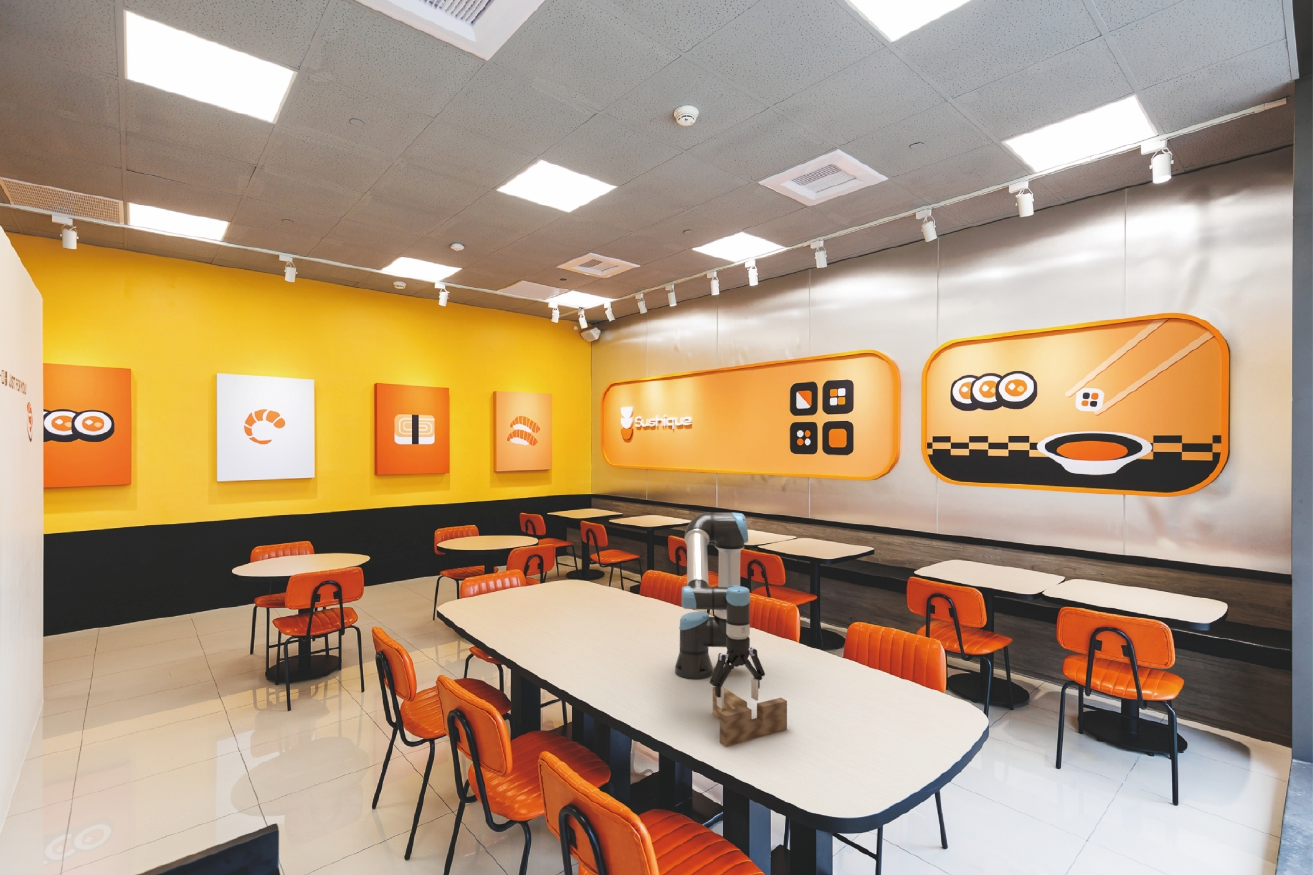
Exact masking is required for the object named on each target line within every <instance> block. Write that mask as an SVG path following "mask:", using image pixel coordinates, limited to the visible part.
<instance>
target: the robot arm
mask: <svg viewBox="0 0 1313 875" xmlns="http://www.w3.org/2000/svg"><path fill="white" fill-rule="evenodd" d="M748 542H749V530H748V526H747V519H746V516H745V515H744V514H743V513H740V512H731V511H730V512H710V511H709V512H702V513H700V514H698V515H696V516H695V517H694V518H693V519H691V521H690V522H689V523H688V525H687V526H686V528H685V531H684V543H685V545H686V577H687V578H686V581H687V582H686V583H687V584H686V586H682V587H681V607H682V608H683V609H685V610H686V609H687V610H694V611H692V612H687V613H686V614H684V615H682V616H680V618H679V619H680V621H679V628H678V630H679V652H678V657H677V659H676V662H675V665H674V671H675V672H674V673H675V674H676V675H677V676H678V677H681V678H685V679H689V680H702V679H707V678H710V679H709V685H712V687H715V696H716V697H717V706H718V707H720V708H724V688H725V687H724V686H723V685H724V684H725V681H726V680H727V678H728V676H729V674H730V673H731V671H732V670H734V668H738V667H739V666H740V667H741V666H745V668H747V670H748V671H749V673H750V674H751V675H752V676H753V677H750V678H751V679H750V680H751V684H750V690H751V691H750V693H751V694H750V697H751V698H752V700H754V701H756V702H757V701H759V689H760V687H761V684H760V683H761V681H762V679H763V677H765V675H766V673H765V670H764V668H763V665H762V662H761V661H760V659H759V656H758V650H757V649H756V648H754V647H752V646H751V638H750V634H751V631H750V629H751V627H750V626H751V623H750V622H751V621H750V619H751V618H750V615H751V613H750V612H751V608H750V607H751V606H750V604H751V594H750V589H749V588H748V587H745V586H742V585H741V552H742V550H744V549H745V544H747V543H748ZM709 543H714V548H716V549H717V550H718V578H717V579H718V585H717V586H709V584H710V583H709V564H708V545H709ZM695 610H698V611H695ZM700 610H701V611H700ZM702 610H709V611H711V610H715V611H714V613H713V615H714V616H710V615H709V613H708V612H707V611H702ZM716 647H717V648H726V653H721V652H719V653H718V655H717V662H716V664H715V667H714V668H713V664H712V660H711V658H710V657H711V656H710V654H709V648H716ZM749 656H750V659H751V661H752V663H753V664H752V663H751V661H750V659H749Z"/></svg>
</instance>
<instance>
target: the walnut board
mask: <svg viewBox="0 0 1313 875" xmlns="http://www.w3.org/2000/svg"><path fill="white" fill-rule="evenodd" d="M752 712H753V711H752V709H751V708H749V707H748V706H747V707H746V706H744V707H740V708H736V709H732V710H728V711H724V712H720V719H719V743H720V744H721V745H723V746H724V747H728V746H732V745H734V744H738V743H742V742H746V741H749V740H753V739H757V738H760V737H761V738H762V737H764V736H767V735H771V734H775V733H777V732H782V731H785V730H788V700H786V699H785V698H783V697H777V698H773V699H769V700H765V701H762V702H761V701H760V702H757V703H756V717H754V718H752V717H753V716H752Z"/></svg>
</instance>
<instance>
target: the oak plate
mask: <svg viewBox="0 0 1313 875" xmlns="http://www.w3.org/2000/svg"><path fill="white" fill-rule="evenodd" d="M744 706H746V707H748V701H746V700H745V699H743V698H741V697H740V696H738V695H737V694H735V693H733V692H731V691H730V690H728V689H726V688H725V687H724V708H720V707H718V706H717V697H716V696H715V686H712V715H713V716H715V717H716V718H718V719H719V720H720V712H724V711H728V710H732V709H736V708H740V707H744Z"/></svg>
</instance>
